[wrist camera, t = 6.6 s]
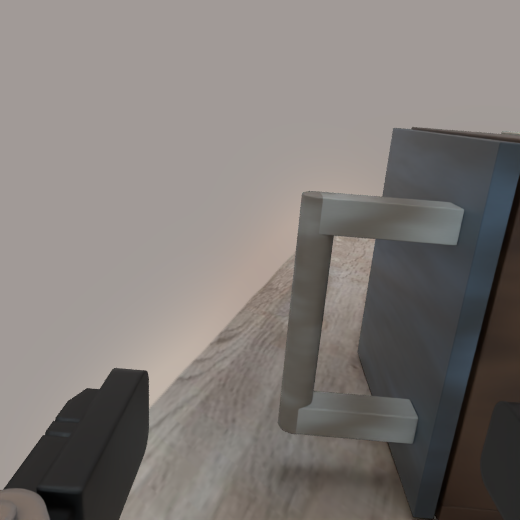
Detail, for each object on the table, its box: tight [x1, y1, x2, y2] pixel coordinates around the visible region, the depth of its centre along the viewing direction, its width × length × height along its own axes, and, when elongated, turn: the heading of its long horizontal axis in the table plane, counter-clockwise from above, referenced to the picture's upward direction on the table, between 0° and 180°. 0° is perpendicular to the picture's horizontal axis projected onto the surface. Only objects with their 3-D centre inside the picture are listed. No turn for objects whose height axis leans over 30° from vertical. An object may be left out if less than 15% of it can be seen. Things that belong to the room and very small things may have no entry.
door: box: [278, 128, 520, 519], centre depth 27 cm, size 8×16×18 cm, turn 178°
